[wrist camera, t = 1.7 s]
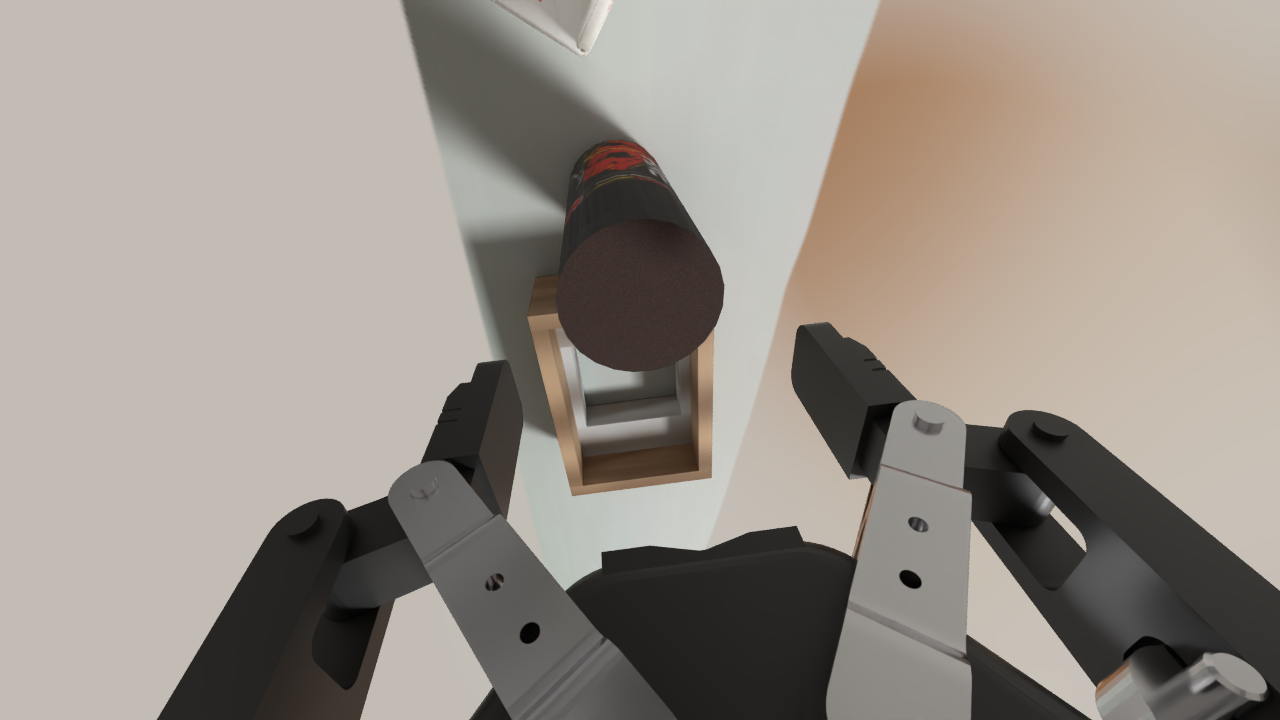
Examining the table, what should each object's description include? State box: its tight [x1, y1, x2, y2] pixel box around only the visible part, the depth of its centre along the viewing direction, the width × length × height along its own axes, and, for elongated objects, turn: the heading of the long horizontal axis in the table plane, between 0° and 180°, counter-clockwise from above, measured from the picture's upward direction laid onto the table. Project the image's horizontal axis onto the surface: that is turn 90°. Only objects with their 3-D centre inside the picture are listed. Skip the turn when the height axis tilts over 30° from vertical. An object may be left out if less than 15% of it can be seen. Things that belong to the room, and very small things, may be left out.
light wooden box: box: [527, 275, 714, 496], centre depth 33 cm, size 16×11×6 cm
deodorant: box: [556, 140, 724, 372], centre depth 22 cm, size 6×6×15 cm
